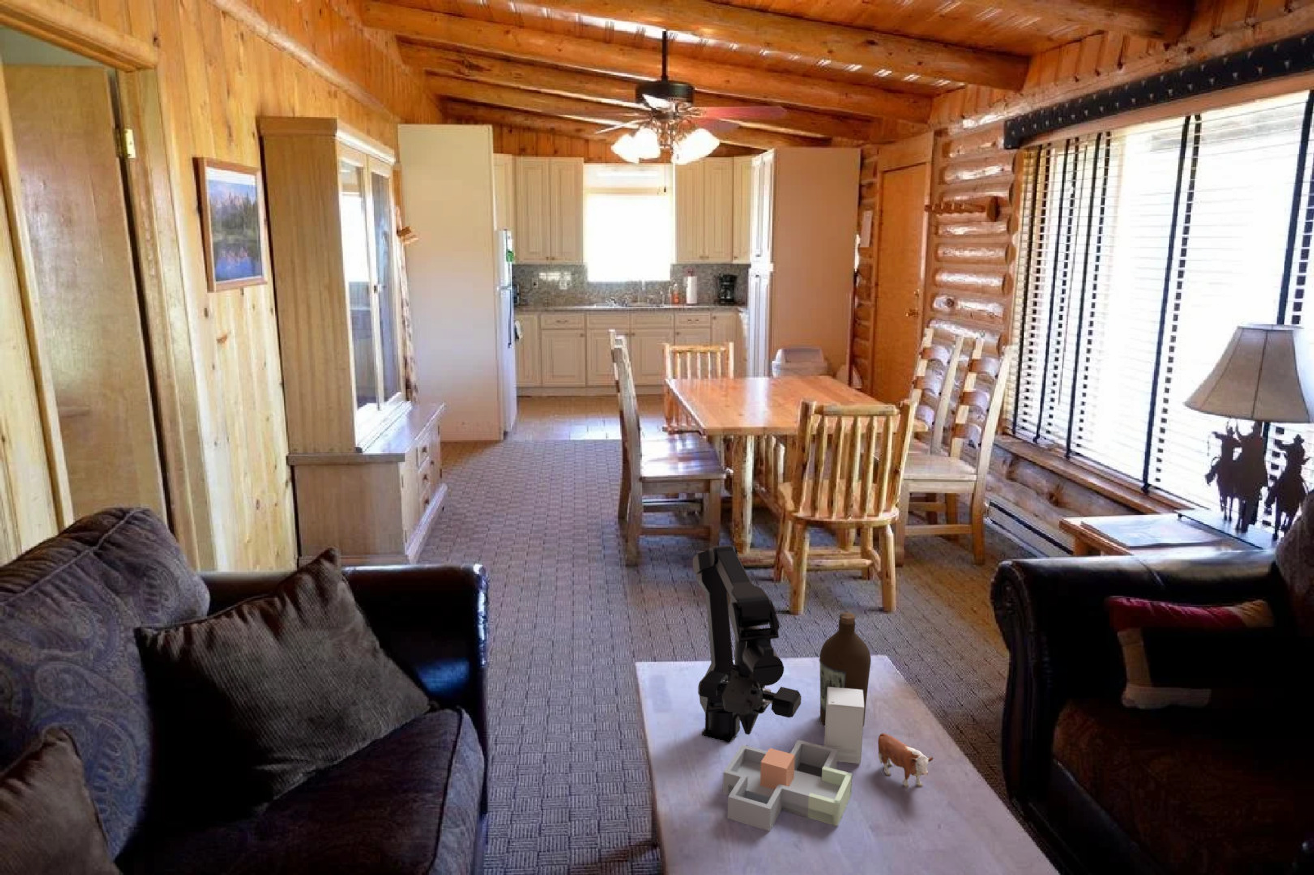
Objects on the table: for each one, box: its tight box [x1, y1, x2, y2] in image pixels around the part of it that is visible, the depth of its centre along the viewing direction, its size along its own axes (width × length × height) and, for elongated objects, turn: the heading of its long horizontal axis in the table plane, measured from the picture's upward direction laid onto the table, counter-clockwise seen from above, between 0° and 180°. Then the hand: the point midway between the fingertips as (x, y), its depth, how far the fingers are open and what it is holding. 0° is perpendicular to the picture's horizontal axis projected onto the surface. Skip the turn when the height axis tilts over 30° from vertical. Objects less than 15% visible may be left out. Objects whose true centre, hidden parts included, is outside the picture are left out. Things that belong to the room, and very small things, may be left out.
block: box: [760, 747, 795, 790], centre depth 165 cm, size 5×5×5 cm
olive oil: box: [818, 612, 872, 728], centre depth 186 cm, size 11×11×25 cm
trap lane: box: [722, 739, 853, 832], centre depth 165 cm, size 22×23×4 cm
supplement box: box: [823, 687, 864, 765], centre depth 177 cm, size 7×7×13 cm
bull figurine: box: [877, 732, 934, 788], centre depth 168 cm, size 4×13×8 cm, turn 27°
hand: (748, 733), depth 166 cm, fingers closed
